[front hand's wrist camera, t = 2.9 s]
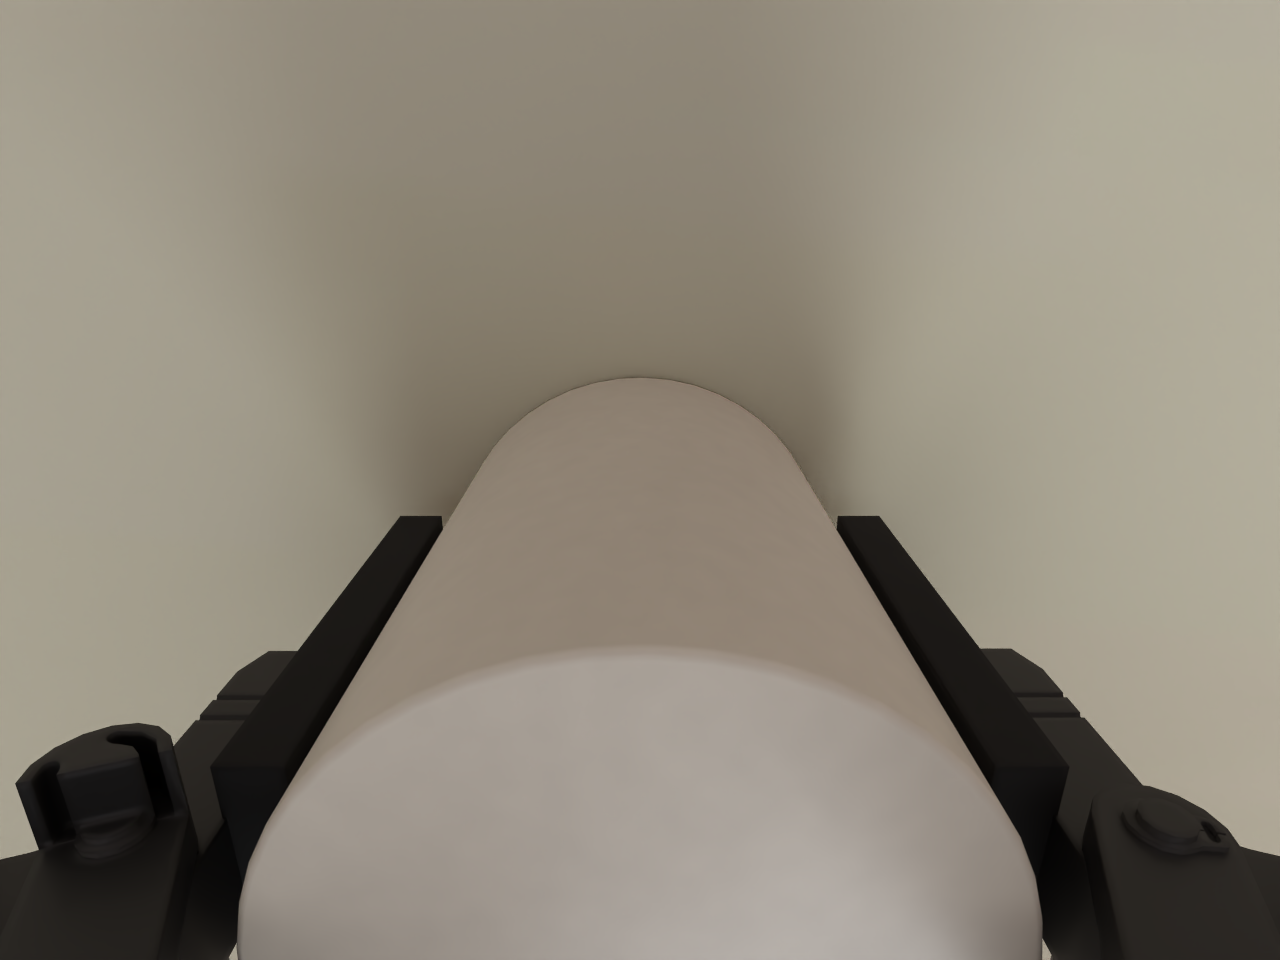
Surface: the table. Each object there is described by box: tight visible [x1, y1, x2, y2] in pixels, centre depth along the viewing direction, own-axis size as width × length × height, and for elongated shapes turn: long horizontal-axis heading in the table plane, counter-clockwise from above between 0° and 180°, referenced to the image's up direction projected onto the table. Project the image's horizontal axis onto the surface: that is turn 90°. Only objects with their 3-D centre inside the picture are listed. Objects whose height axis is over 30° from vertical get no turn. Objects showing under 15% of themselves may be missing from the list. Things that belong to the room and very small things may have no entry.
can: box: [237, 378, 1043, 960], centre depth 11 cm, size 7×7×9 cm
